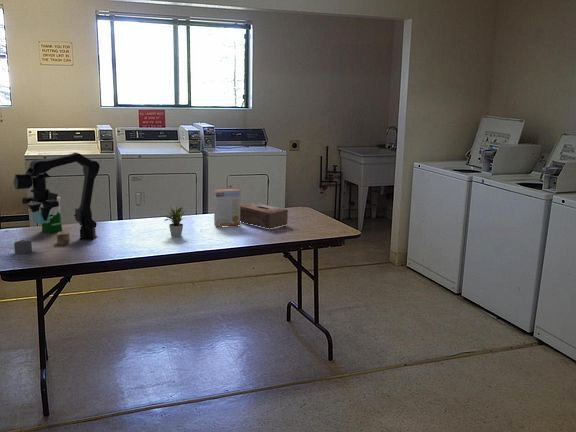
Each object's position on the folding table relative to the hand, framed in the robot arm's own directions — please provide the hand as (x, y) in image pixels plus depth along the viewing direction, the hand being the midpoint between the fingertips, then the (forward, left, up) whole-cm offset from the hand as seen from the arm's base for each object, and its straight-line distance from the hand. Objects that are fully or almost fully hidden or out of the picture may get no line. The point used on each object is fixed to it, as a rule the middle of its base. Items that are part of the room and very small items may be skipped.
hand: (41, 220), depth 258 cm
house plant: (-56, -30, -13) cm, 65 cm away
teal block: (0, 0, -1) cm, 1 cm away
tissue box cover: (-97, -65, -13) cm, 117 cm away
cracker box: (-78, -56, -13) cm, 97 cm away
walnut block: (-7, -6, -13) cm, 16 cm away
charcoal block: (+3, +12, -13) cm, 18 cm away
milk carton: (+9, -26, -13) cm, 30 cm away
